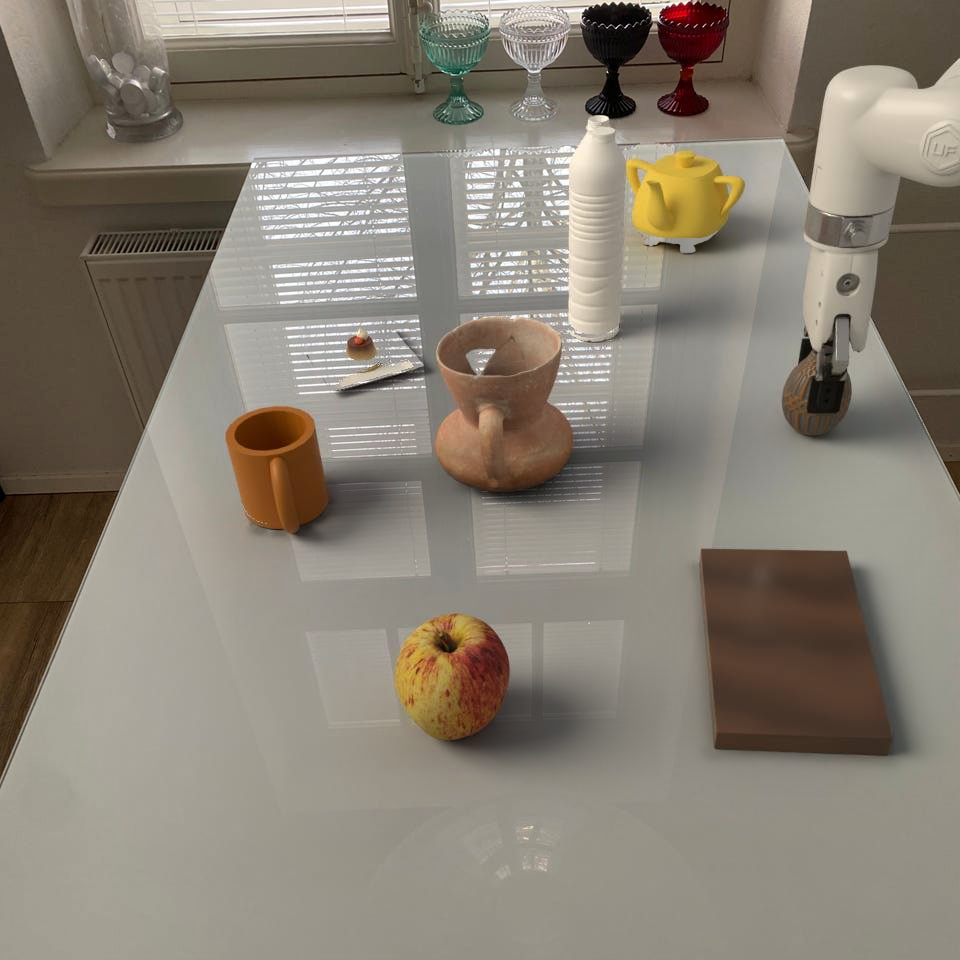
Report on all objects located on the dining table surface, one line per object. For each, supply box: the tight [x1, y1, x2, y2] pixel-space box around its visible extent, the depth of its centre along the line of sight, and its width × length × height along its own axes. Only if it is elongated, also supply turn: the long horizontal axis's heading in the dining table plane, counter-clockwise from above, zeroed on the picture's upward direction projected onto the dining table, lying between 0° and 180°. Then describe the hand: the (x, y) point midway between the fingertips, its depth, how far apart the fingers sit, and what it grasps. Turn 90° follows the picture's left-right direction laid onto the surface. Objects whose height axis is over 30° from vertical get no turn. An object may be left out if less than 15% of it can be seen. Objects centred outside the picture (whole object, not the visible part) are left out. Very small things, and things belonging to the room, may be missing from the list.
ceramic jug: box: [434, 315, 575, 493], centre depth 100 cm, size 18×14×14 cm
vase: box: [781, 346, 853, 436], centre depth 104 cm, size 7×7×9 cm
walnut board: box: [698, 548, 894, 756], centre depth 83 cm, size 22×13×2 cm, turn 174°
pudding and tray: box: [336, 327, 416, 392], centre depth 121 cm, size 12×12×5 cm
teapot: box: [626, 149, 746, 238], centre depth 138 cm, size 14×14×12 cm
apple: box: [394, 612, 511, 741], centre depth 77 cm, size 9×9×10 cm
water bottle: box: [567, 114, 627, 343], centre depth 116 cm, size 9×6×25 cm
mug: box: [225, 405, 330, 534], centre depth 99 cm, size 9×12×9 cm
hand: (817, 391), depth 104 cm, fingers closed on vase, 6 cm apart
